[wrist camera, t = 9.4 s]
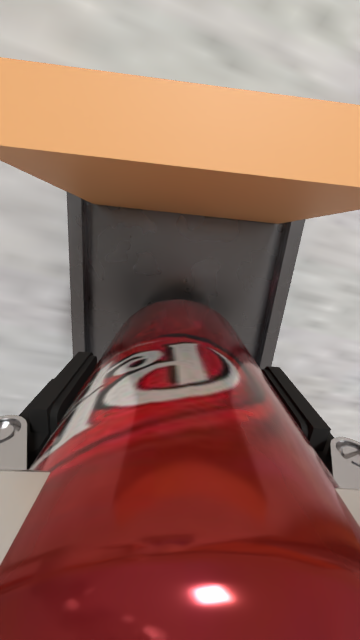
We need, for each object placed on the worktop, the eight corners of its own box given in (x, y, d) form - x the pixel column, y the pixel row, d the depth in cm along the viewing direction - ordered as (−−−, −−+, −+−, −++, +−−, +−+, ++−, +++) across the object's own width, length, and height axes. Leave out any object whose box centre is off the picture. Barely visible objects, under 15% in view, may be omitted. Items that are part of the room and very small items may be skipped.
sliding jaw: (93, 174, 14) (-56, 50, 5) (283, 195, 15) (463, 119, 6) (93, 204, 15) (-42, 140, 6) (278, 223, 15) (435, 195, 6)
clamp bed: (82, 180, 16) (-120, 47, 5) (290, 204, 17) (514, 131, 6) (86, 392, 21) (-12, 559, 10) (248, 403, 21) (325, 572, 10)
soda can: (264, 361, 14) (611, 827, 3) (172, 430, 16) (164, 928, 4) (181, 267, 13) (244, 506, 1) (87, 354, 14) (-303, 845, 3)
